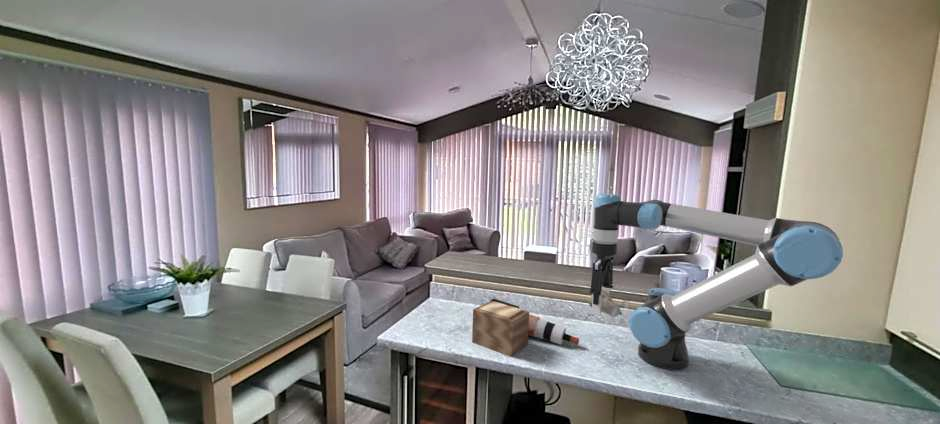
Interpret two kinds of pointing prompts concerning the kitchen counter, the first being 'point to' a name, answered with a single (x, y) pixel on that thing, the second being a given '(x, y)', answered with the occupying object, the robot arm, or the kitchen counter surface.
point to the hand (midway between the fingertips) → (600, 309)
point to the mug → (607, 305)
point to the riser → (500, 327)
